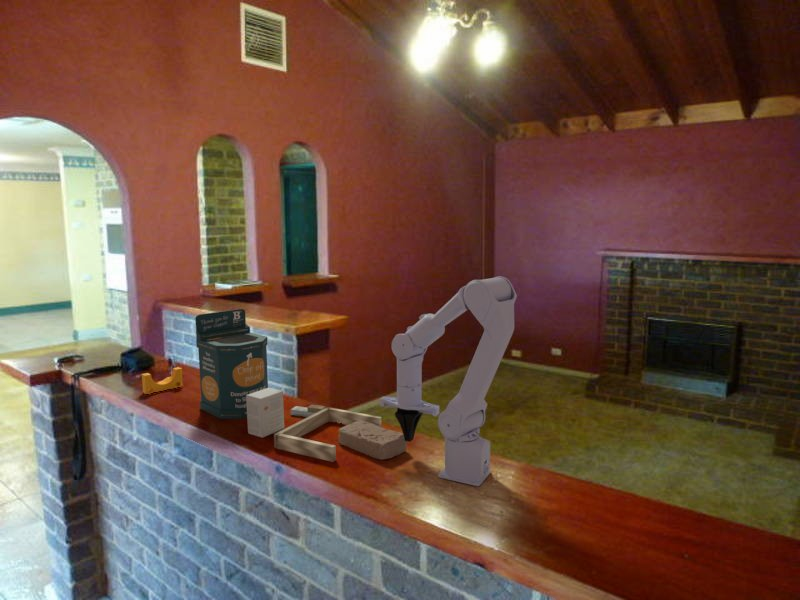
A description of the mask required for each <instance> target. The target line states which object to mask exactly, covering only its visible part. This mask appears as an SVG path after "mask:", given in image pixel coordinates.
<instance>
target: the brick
mask: <svg viewBox="0 0 800 600" xmlns="http://www.w3.org/2000/svg"><path fill="white" fill-rule="evenodd" d="M337 438H338V444H339V443H340V445H341V446H343V445H345V446H344V447H346V446H347V447H346V448H350V449H351V450H353V449H354V451H357V452H359V453H362V454H364V455H366V456H368V455H369V456H368V457H371V458H374V459H377V460H382V461H383V460H387V459H391V458H394V457H395V456H400V455H401V454H402V453H405V452H406V451H407V445H408V441H405V439H404V435H403V432H399V431H396V430H392V429H386V428H385V427H383V426H382V427H379V426H377V425H374V424H372V423H369V422H365V421H357V422H353V423H352V424H349V425H344V426H342V427H340V428H338V436H337Z"/></svg>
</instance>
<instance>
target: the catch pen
mask: <svg viewBox="0 0 800 600" xmlns="http://www.w3.org/2000/svg"><path fill="white" fill-rule="evenodd" d="M357 421H365V422H369V423H372V424H374V425H377V426H379V427H382V428H383V426H382V425H383V424H382V416H378V415H373V414H367V413H361V412H356V411H350V410H347V409H346V410H345V409H340V408H336V407H335V408H334V407H329V406H327V407H325V409H323V410H321V411H319V412H317V413H315V414H313V415H311V416H309V417H304V418H303V419H301V420H299V421H297V422H296V423H294V424H292V425H289V426H288V427H284V429H281V430H279V431H277V432H275V433H273V444H274V446H273V447H274V449H277V450H280V451H281V450H282V451H285V452H288V453H289V452H290V453H294V454H298V455H301V456H307V457H310V458H315V459H317V460H323V461H327V462H331V463H333V462H335V461H336V460H337V454H336V453H337V451H336V450H337V449H336V448H337V447H336V445H335V444H330V443H325V442H320V441H316V440H313V439H312V440H311V439H309V438H308V439H307V438H303V436H305V435H306V434H308V433H310V432H312V431H314V430H316V429H318V428H319V427H321V426H324V425H325V424H326V423H327V424H328V422H329V423H330V422H331V423H335V422H337V423H336V424H340V423H342V425H344V426H346V425H349V424H352V423H353V422H357Z"/></svg>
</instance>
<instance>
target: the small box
mask: <svg viewBox="0 0 800 600" xmlns="http://www.w3.org/2000/svg"><path fill="white" fill-rule="evenodd" d="M246 402H247V417H246V419H247V420H246V422H247V433H248V434H249V435H253V436H255V437H258V438H261V439H262V438H265V437H268V436H270V435H272V434H275V433H278V432H280V431H282V430H283V429H285V413H284V412H285V411H284V409H285V407H284V391H283V390H280V389H277V388H272V387H268V388H266V389H263V390H260V391H257V392H254V393H251V394H248V395H246Z"/></svg>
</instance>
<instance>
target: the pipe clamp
mask: <svg viewBox="0 0 800 600" xmlns="http://www.w3.org/2000/svg"><path fill="white" fill-rule="evenodd" d="M183 378H184V377H183V368H182V367H180V366H177V367H173V368H172V372H171V375H170V376H167V377H165V378H164V379H163V380H160V381H157V382H155V381H154V379H153V377H152V374H151V373H149V372H146V373H141V384H142V386H141V387H142V393H143V392H144V393H145V394H149V393H153V392H158V391H163V390H167V389H172V388H176V389H178V388H177V387H181V386H183V387H184V380H183ZM181 388H182V387H181ZM172 390H173V389H172ZM167 391H168V390H167ZM163 392H164V391H163ZM158 393H159V392H158ZM145 394H144V395H145ZM153 394H154V393H153ZM149 395H150V394H149Z"/></svg>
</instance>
